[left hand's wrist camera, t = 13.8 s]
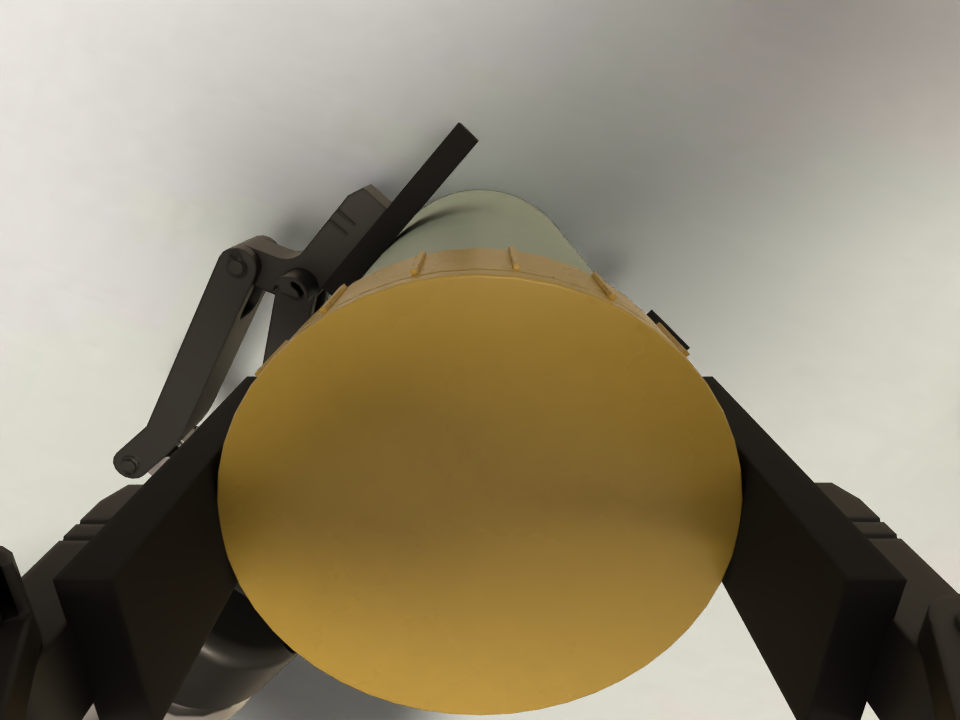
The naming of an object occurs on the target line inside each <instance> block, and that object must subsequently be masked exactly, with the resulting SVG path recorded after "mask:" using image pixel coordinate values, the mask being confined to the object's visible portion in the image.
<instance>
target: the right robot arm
mask: <svg viewBox="0 0 960 720" xmlns="http://www.w3.org/2000/svg"><path fill="white" fill-rule="evenodd" d="M477 142H478V139H476V138H475V137H474V136H473V135H472V134H471V133H470V132H469V131H468V130H467V129H466V128H465V127H464V126H463V125H462V124H461V123H458V124H457V125H456V126H455V128H454V129H453V130H452V131H451V132H450V134H449V135H448V136H447V137H446V138H445V140H444V141H443V142H442V143H441V144H440V146H439V147H438V148H437V149H436V150H435V152H434V153H433V154H432V155H431V156H430V158H429V159H428V160H427V161H426V162H425V164H424V165H423V166H422V167H421V168H420V170H419V171H418V172H417V173H416V174H415V176H414V177H413V178H412V179H411V180H410V182H409V183H408V184H407V185H406V186H405V188H404V189H403V190H402V191H401V192H400V194H399V195H398V196H397V197H396V198H395V200H394V201H393V202H390V201H389V200H388V199H387V198H386V197H385V196H384V195H383V194H382V193H380V192H379V191H378V190H377V189H376V188H375V187H374V186H373V185H372V184H370V185H368V186H366V187H364V188H362V189H360V190H358V191H356V192H354V193H352V194H350V195H348V196H347V198H346V199H345V200H344V201H343V202H342V204H341V205H340V206H339V207H338V209H337V210H336V211H335V212H334V214H333V215H332V216H331V217H330V219H329V220H328V221H327V222H326V224H325V225H324V226H323V227H322V229H321V230H320V231H319V232H318V234H317V235H316V236H315V237H314V239H313V240H312V241H311V242H310V244H309V245H308V246H307V247H306V248H305V250H303V251H294V250H290V249H287V248H285V247H282V246H280V245H277V243H276V242H275V241H274V240H273V239H271V238H270V237H267V236H264V235H263V236H256V237H253V238H251V239H249V240H246V241H244V242H242V243H240V244H238V245H235V246H233V247H232V248H229V249H227V250H225V251H224V252H223V253H222V254H221V255H220V257H219V259H218V261H217V263H216V266H215V268H214V270H213V273H212V275H211V277H210V280H209V282H208V284H207V287H206V289H205V291H204V294H203V296H202V298H201V301H200V303H199V305H198V308H197V310H196V312H195V315H194V317H193V319H192V322H191V324H190V326H189V329H188V331H187V333H186V336H185V338H184V340H183V343H182V345H181V347H180V350H179V352H178V354H177V357H176V359H175V361H174V364H173V366H172V368H171V371H170V373H169V375H168V378H167V380H166V382H165V385H164V387H163V389H162V392H161V394H160V396H159V399H158V401H157V403H156V406H155V408H154V410H153V413H152V415H151V417H150V420H149V422H148V424H147V426H146V427H145V428H144V429H143V430H142V431H141V432H140V433H139V434H137V435H136V436H135V437H134V438H133V439H132V440H131V441H130V442H128V443H127V444H126V445H125V446H124V447H123V448H122V449H121V450H119V451H118V452H117V453H116V455H115V456H114V459H113V464H114V466H115V469H116V470H117V471H118V472H119V473H120V474H121V475H123V476H125V477H128V478H132V479H134V478H140V477H142V476H143V475H145V474H146V473H147V472H148V473H150V474H151V475H153V474H154V473H155V472H156V471H157V470H158V469H159V468H160V467H161V466H162V465H163V464H164V463H165V462H166V461H167V460H168V459H169V458H170V457H171V455H172V454H173V453H174V452H175V451H176V450H177V449H178V448H179V447H180V446H181V445H182V444H183V443H184V442H185V441H186V440H187V439H188V438H189V437H190V436H191V435H192V434H193V433H194V431H195V430H196V429H197V428H198V426H196V425H197V424H198V423H199V422H200V421H201V420H202V419H203V418H204V416H205V415H206V414H207V412H208V411H209V409H210V408H211V406H212V404H213V402H214V400H215V398H216V396H217V394H218V392H219V389H220V387H221V385H222V383H223V381H224V379H225V377H226V374H227V372H228V370H229V368H230V366H231V364H232V362H233V359H234V357H235V355H236V353H237V351H238V349H239V347H240V344H241V342H242V340H243V338H244V336H245V334H246V332H247V329H248V327H249V325H250V323H251V321H252V319H253V317H254V314H255V312H256V310H257V308H258V306H259V304H260V302H261V299H262V297H263V295H264V293H265V291H267V292H270V293H272V294H275V298H274V304H273V310H272V315H271V321H270V326H269V332H268V338H267V343H266V349H265V355H264V360H263V364H264V363H265V362H266V361H267V360H268V359H269V358H270V357H271V355H272V354H273V353H274V352H275V351H276V350H277V349H278V348H279V347H280V346H281V345H282V344H283V343H284V342H285V341H286V340H288V341H289V340H290V339H291V338H292V336H293V335H294V334H295V333H296V332H297V331H298V330H299V329H300V328H301V327H302V326H303V325H304V324H305V322H306V321H307V320H308V319H309V318H310V317H311V316H313V315H314V314H315V313H316V312H317V311H318V310H319V309H320V308H321V307H322V306H323V305H324V304H325V303H326V301H327V300H328V295H329V294H330V295H333V294H334V293H335V292H336V291H337V289H338V288H339V287H340V286H342V285H343V284H345V285H346V286H347V287H348V286H350V285H351V284H352V283H354V282H355V281H357V280H359V279H361V278H362V277H363V276H364V275H365V273H366V272H367V271H368V270H369V269H370V268H371V266H372V265H373V264H374V263H375V262H376V261H377V259H378V258H379V257H380V256H381V255H382V253H383V252H384V251H385V250H386V249H387V248H388V246H389V245H390V244H391V243H392V242H393V241H394V239H395V238H396V237H397V236H398V235H399V234H400V232H401V231H402V230H403V229H404V228H405V227H406V225H407V224H408V223H409V222H410V221H411V220H412V218H413V217H414V216H415V215H416V214H417V213H418V211H419V210H420V209H421V208H422V207H423V205H424V204H425V203H426V202H427V201H428V200H429V198H430V197H431V196H432V195H433V194H434V193H435V191H436V190H437V189H438V188H439V187H440V186H441V184H442V183H443V182H444V181H445V180H446V179H447V177H448V176H449V175H450V174H451V173H452V172H453V170H454V169H455V168H456V167H457V166H458V165H459V163H460V162H461V161H462V160H463V159H464V158H465V156H466V155H467V154H468V153H469V152H470V150H471V149H472V148H473V147H474V146H475V145H476V143H477ZM647 316H648V317H649V318H650V319H651V320H652V321H653V322H654V323H655V324H657V323H659V322H660V323H661V324H662V325H663V326H664V327H665V328H666V329H667V330H668V332H669V333H670V334H671V335H672V336H673V337H674V338H675V339H676V340H677V341H678V342H679V343H680V344H681V345H682V346H683V347H684V348H685V349H686V350H688V349H689V348H690V347H689V346H688V345H687V344H686V343H685V342H684V341H683V340H682V339H681V338H680V337H679V336H678V335H677V334H676V333H675V332H674V331H673V330H672V329H671V328H670V327H669V326H668V325H667V324H666V323H665V322H664V321H663V320H662V319H661V318H660V317H659V316H658V315H657V314H656V313H655V312H654V311H653V310H651V311H650V312H649V313H648V314H647ZM297 654H298V653H296V652H295V651H294V650H293V649H292V648H290V647H289V646H288V645H287V644H286V643H285V642H284V641H283V640H282V639H281V638H280V637H279V636H278V635H277V634H276V633H275V632H274V631H273V630H272V629H271V628H270V627H269V626H268V624H267V623H266V622H265V621H264V619H263V618H262V617H261V616H260V615H259V613H258V612H257V611H256V610H255V608H254V607H253V605H252V604H251V602H250V600H249V599H248V597H247V596H246V594H245V592H244V591H243V589H242V588H241V586H240V584H239V582H237V584H236V586H235V588H234V590H233V591H232V593H231V595H230V597H229V599H228V601H227V603H226V604H225V606H224V608H223V610H222V612H221V614H220V615H219V617H218V619H217V621H216V623H215V625H214V627H213V628H212V630H211V632H210V634H209V636H208V638H207V640H206V641H205V643H204V645H203V647H202V649H201V651H200V652H199V654H198V656H197V658H196V660H195V662H194V664H193V665H192V667H191V669H190V671H189V673H188V675H187V677H186V678H185V680H184V682H183V684H182V686H181V688H180V690H179V691H178V693H177V695H176V697H175V699H174V701H173V702H172V704H171V706H170V708H169V710H168V712H167V714H166V715H165V717H164V719H163V720H228V719H229V718H230V717H232V716H233V715H234V714H235V713H236V712H237V711H238V710H240V709H241V708H242V707H243V706H244V705H245V703H246V702H247V701H248V700H249V699H250V698H251V697H252V695H254V694H255V693H257V692H258V691H259V690H260V689H261V688H262V687H263V686H264V685H265V684H266V683H267V682H268V681H270V680H271V679H272V678H273V677H274V676H275V675H276V674H277V673H278V672H279V671H280V670H281V669H282V668H284V667H285V666H286V665H287V664H288V663H289V662H290V661H291V660H292V659H293V658H294V657H295V656H296V655H297ZM82 720H99V718H98V715H97V712H96V709H95V706H94V703H93V705H92V706H91V708H90V709H89V710H88V712H87V713H86V715H85V716H84V718H83V719H82Z"/></svg>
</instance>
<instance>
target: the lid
mask: <svg viewBox="0 0 960 720" xmlns="http://www.w3.org/2000/svg"><path fill="white" fill-rule="evenodd" d="M688 355H689V353H688V352H687V350H686V349H685V348H684V347H683V346H682V345H681V344H680V343H679V342H678V341H677V340H676V339H675V338H674V337H673V336H672V335H671V334H670V333H669V332H668V330H667V329H666V328H665V327H664V326H663V325H662V324H661V323H660V322H659V323H657V324H655V323H654V322H653V321H652V320H651V319H650V318H649V317H648V316H647V315H646V314H645V313H644V312H643V311H642V310H641V309H639V308H638V307H637V306H636V305H635V304H634V303H633V302H632V301H631V300H630V299H629V298H627V297H626V296H624V295H623V294H621V293H620V292H619V291H617V290H616V289H614V288H613V287H611V286H610V285H608V284H607V283H606V282H605V281H604V280H603V279H602V278H601V276H600V275H599V274H598V273H596V272H593V274H592V275H590V274H588V273H586V272H584V271H582V270H580V269H578V268H576V267H574V266H571V265H568V264H565V263H562V262H559V261H556V260H553V259H550V258H547V257H544V256H540V255H535V254H530V253H525V252H519V251H516V249H515V247H512V246H509V250H505V249H488V248H470V249H456V250H444V251H439V252H435V253H430V254H426V253H425V251H420V252H419V253H418V255H417V256H415V257H411V258H409V259H406V260H403V261H400V262H397V263H394V264H391V265H389V266H386V267H383V268H381V269H379V270H377V271H375V272H373V273H371V274H369V275H367V276H365V277H363V278H361V279H359V280H357V281H355V282H354V283H352V284H351V285H350V286H348V287H347V286H346V285H345V284H343V285H342V286H340V287H339V288H338V289H337V291H336V292H335V293H334V294H333V295H332V296H331V297H330V298H329V299H328V300H327V301H326V303H325V304H324V305H323V306H322V307H321V308H320V309H319V310H318V311H317V312H316V313H315V314H314V315H313V316H311V317H310V318H309V319H308V320H307V321H306V322H305V324H304V325H303V326H302V327H301V328H300V329H299V330H298V331H297V332H296V333H295V334H294V335H293V336H292V338H291V339H290V340H289V341H288V340H286V341H285V342H284V343H283V344H282V345H281V346H280V347H279V348H278V349H277V350H276V351H275V352H274V353H273V354H272V355H271V357H270V358H269V359H268V360H267V361H266V362H265V363H264V364H263V365H262V366H261V367H260V368H259V369H258V370H257V372H256V373H255V375H256V376H258V377H257V378H256V379H255V381H254V382H253V383H252V384H251V386H250V388H249V389H248V391H247V393H246V395H245V396H244V398H243V400H242V402H241V404H240V405H239V407H238V409H237V411H236V412H235V414H234V417H233V420H232V422H231V425H230V428H229V430H228V433H227V436H226V439H225V441H224V445H223V450H222V455H221V460H220V465H219V470H218V487H217V507H218V514H219V520H220V526H221V531H222V536H223V541H224V545H225V549H226V553H227V557H228V560H229V562H230V564H231V566H232V569H233V571H234V573H235V575H236V578H237V580H238V582H239V584H240V586H241V588H242V589H243V591H244V592H245V594H246V596H247V597H248V599H249V600H250V602H251V604H252V605H253V607H254V608H255V610H256V611H257V612H258V613H259V615H260V616H261V617H262V618H263V619H264V621H265V622H266V623H267V624H268V626H269V627H270V628H271V629H272V630H273V631H274V632H275V633H276V634H277V635H278V636H279V637H280V638H281V639H282V640H283V641H284V642H285V643H286V644H287V645H288V646H289V647H290V648H292V649H293V650H294V651H295V652H296V653H298V654H299V655H300V656H302V657H303V658H304V659H306V660H307V661H308V662H310V663H311V664H312V665H314V666H315V667H316V668H318V669H320V670H322V671H323V672H325V673H327V674H328V675H330V676H332V677H333V678H335V679H337V680H339V681H340V682H342V683H344V684H347V685H349V686H351V687H353V688H355V689H358V690H360V691H362V692H364V693H366V694H369V695H372V696H375V697H378V698H381V699H384V700H387V701H389V702H392V703H396V704H400V705H404V706H408V707H413V708H417V709H421V710H427V711H435V712H442V713H449V714H467V715H493V714H511V713H518V712H525V711H532V710H539V709H543V708H547V707H551V706H555V705H559V704H563V703H567V702H570V701H573V700H576V699H579V698H582V697H585V696H587V695H590V694H593V693H596V692H598V691H600V690H602V689H604V688H606V687H608V686H611V685H613V684H615V683H617V682H619V681H621V680H623V679H625V678H626V677H628V676H629V675H631V674H633V673H634V672H636V671H638V670H639V669H641V668H643V667H644V666H646V665H647V664H649V663H650V662H651V661H652V660H654V659H655V658H656V657H658V656H659V655H660V654H662V653H663V652H664V651H665V650H667V649H668V648H669V647H670V646H671V645H672V644H673V643H674V642H675V641H676V640H677V639H678V638H679V637H680V636H682V635H683V634H684V633H685V632H686V631H687V630H688V629H689V628H690V626H691V625H692V624H693V623H694V621H695V620H696V619H697V618H698V616H699V615H700V614H701V613H702V611H703V610H704V609H705V608H706V606H707V605H708V603H709V601H710V600H711V598H712V596H713V595H714V593H715V591H716V590H717V588H718V587H719V585H720V583H721V581H722V579H723V577H724V574H725V572H726V570H727V567H728V565H729V563H730V560H731V558H732V555H733V551H734V548H735V543H736V538H737V534H738V529H739V523H740V517H741V510H742V501H743V498H742V478H741V467H740V462H739V458H738V453H737V448H736V444H735V440H734V437H733V434H732V432H731V429H730V427H729V424H728V422H727V419H726V416H725V414H724V411H723V409H722V408H721V406H720V404H719V403H718V401H717V399H716V398H715V396H714V394H713V392H712V391H711V389H710V387H709V386H708V384H707V382H706V381H705V380H704V379H703V377H702V376H701V375H700V374H699V373H698V371H697V370H696V369H695V368H694V366H693V365H692V364H691V363H690V361H689V360H688V359H687V358H686V357H687V356H688Z"/></svg>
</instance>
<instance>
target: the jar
mask: <svg viewBox="0 0 960 720" xmlns="http://www.w3.org/2000/svg"><path fill="white" fill-rule="evenodd" d="M509 246H512V247H515V249H516V251H519V252H525V253H530V254H535V255H540V256H544V257H547V258H550V259H553V260H556V261H559V262H562V263H565V264H568V265H571V266H574V267H576V268H578V269H580V270H582V271H584V272H586V273H588V274H590V275H592V274H593V272H592V270H591V269H590V268H589V267H588V265H587V264H586V263H585V262H584V261H583V259H582V258H581V257H580V256H579V254H578V253H577V252H576V251H575V250H574V248H573V247H572V246H571V245H570V243H569V242H568V241H567V240H566V239H565V237H564V236H563V235H562V234H561V232H560V231H559V230H558V229H557V228H556V226H555V225H554V224H553V223H552V222H551V221H550V220H549V219H548V218H547V217H546V216H545V215H544V214H543V213H542V212H541V211H539V210H538V209H537V208H535V207H534V206H533V205H531V204H529V203H527V202H526V201H524V200H522V199H520V198H517V197H515V196H512V195H510V194H506V193H502V192H498V191H489V190H469V191H463V192H458V193H454V194H451V195H448V196H445V197H442V198H440V199H438V200H436V201H434V202H432V203H431V204H429V205H428V206H426V207H424V208H423V209H421V210H420V211H419V212H418V213H417V214H416V215H415V216H414V217H413V218H412V220H411V221H410V222H409V223H408V224H407V225H406V227H405V228H404V229H403V230H402V231H401V232H400V234H399V235H398V236H397V237H396V238H395V239H394V241H393V242H392V243H391V244H390V245H389V246H388V248H387V249H386V250H385V251H384V252H383V253H382V255H381V256H380V257H379V258H378V259H377V261H376V262H375V263H374V264H373V265H372V266H371V268H370V269H369V270H368V271H367V273H366V274H365V275H364V276H363V277H365V276H367V275H369V274H371V273H373V272H375V271H377V270H379V269H381V268H383V267H386V266H389V265H391V264H394V263H397V262H400V261H403V260H406V259H409V258H411V257H415V256H417V255H418V253H419V252H420V251H425V253H426V254H430V253H435V252H439V251H444V250H456V249H470V248H488V249H505V250H509ZM363 277H362V278H363Z"/></svg>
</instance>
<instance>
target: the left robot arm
mask: <svg viewBox="0 0 960 720" xmlns="http://www.w3.org/2000/svg"><path fill="white" fill-rule="evenodd" d="M256 378H257V377H246V378H245V379H244V380H243V381H242V382H241V383H240V385H239V386H238V387H237V388H236V389H235V390H234V391H233V392H232V393H231V394H230V395H229V396H228V397H227V398H226V399H225V400H224V401H223V402H222V403H221V404H220V405H219V406H218V407H217V409H216V410H215V411H214V412H213V413H212V414H211V415H210V416H209V417H208V418H207V419H206V420H205V421H204V422H203V423H202V424H201V425H200V426H199V427H198V428H197V429H196V430H195V431H194V433H193V434H192V435H191V436H190V437H189V438H188V439H187V440H186V441H185V442H184V443H183V444H182V445H181V446H180V447H179V448H178V449H177V450H176V451H175V452H174V453H173V454H172V455H171V457H170V458H169V459H168V460H167V461H166V462H165V463H164V464H163V465H162V466H161V467H160V468H159V469H158V470H157V471H156V472H155V473H154V474H153V475H152V476H151V477H150V478H149V479H148V481H147V482H146V483H145V484H144V485H127V486H125V487H124V488H122V489H120V490H119V491H117V492H115V493H113V494H112V495H110V496H108V497H107V498H105V499H103V500H101V501H100V502H99V503H98V504H97V505H96V506H95V507H94V508H93V509H92V510H91V511H90V512H89V513H87V514H86V515H85V516H84V517H83V518H82V519H81V520H80V524H76V525H75V526H74V527H73V528H72V529H71V530H70V531H69V532H68V533H67V534H66V535H65V536H64V539H63V541H59V542H58V543H56V544H55V545H54V546H53V547H52V548H51V549H50V550H49V551H48V552H47V553H46V554H45V555H44V556H43V557H42V558H41V559H40V560H39V561H38V562H37V563H36V564H35V565H34V566H33V567H32V568H31V569H30V570H29V571H28V572H27V573H25V574H24V575H23V576H22V577H21V576H20V573H19V570H18V567H17V564H16V562H15V559H14V556H13V553H12V552H11V551H9V550H8V549H6V548H4V547H3V546H0V720H82V719H83V718H84V716H85V715H86V713H87V712H88V710H89V709H90V708H91V706H92V705H93V703H94V706H95V709H96V712H97V715H98V718H99V720H163V719H164V717H165V715H166V714H167V712H168V710H169V708H170V706H171V704H172V702H173V701H174V699H175V697H176V695H177V693H178V691H179V690H180V688H181V686H182V684H183V682H184V680H185V678H186V677H187V675H188V673H189V671H190V669H191V667H192V665H193V664H194V662H195V660H196V658H197V656H198V654H199V652H200V651H201V649H202V647H203V645H204V643H205V641H206V640H207V638H208V636H209V634H210V632H211V630H212V628H213V627H214V625H215V623H216V621H217V619H218V617H219V615H220V614H221V612H222V610H223V608H224V606H225V604H226V603H227V601H228V599H229V597H230V595H231V593H232V591H233V590H234V588H235V586H236V584H237V582H238V580H237V578H236V575H235V573H234V571H233V569H232V566H231V564H230V562H229V560H228V557H227V553H226V549H225V545H224V541H223V536H222V531H221V526H220V520H219V514H218V507H217V487H218V470H219V465H220V460H221V455H222V450H223V445H224V441H225V439H226V436H227V433H228V430H229V428H230V425H231V422H232V420H233V417H234V414H235V412H236V411H237V409H238V407H239V405H240V404H241V402H242V400H243V398H244V396H245V395H246V393H247V391H248V389H249V388H250V386H251V384H252V383H253V382H254V381H255V379H256ZM703 379H704V380H705V381H706V382H707V384H708V386H709V387H710V389H711V391H712V392H713V394H714V396H715V398H716V399H717V401H718V403H719V404H720V406H721V408H722V409H723V411H724V414H725V416H726V419H727V422H728V424H729V427H730V429H731V432H732V434H733V437H734V440H735V444H736V448H737V453H738V458H739V462H740V467H741V478H742V498H743V501H742V510H741V517H740V523H739V529H738V534H737V538H736V543H735V548H734V551H733V555H732V558H731V560H730V563H729V565H728V567H727V570H726V572H725V574H724V577H723V579H722V583H723V585H724V587H725V588H726V590H727V592H728V594H729V596H730V598H731V599H732V601H733V603H734V605H735V607H736V609H737V611H738V612H739V614H740V616H741V618H742V620H743V622H744V624H745V625H746V627H747V629H748V631H749V633H750V635H751V636H752V638H753V640H754V642H755V644H756V646H757V648H758V649H759V651H760V653H761V655H762V657H763V659H764V661H765V662H766V664H767V666H768V668H769V670H770V672H771V674H772V675H773V677H774V679H775V681H776V683H777V685H778V686H779V688H780V690H781V692H782V694H783V696H784V698H785V699H786V701H787V703H788V705H789V707H790V709H791V711H792V712H793V714H794V716H795V718H796V720H861V717H862V714H863V711H864V708H865V705H866V702H868V703H869V705H870V706H871V708H872V709H873V711H874V712H875V714H876V715H877V717H878V718H879V720H960V594H958V593H957V592H956V591H955V590H954V589H953V588H952V587H951V586H950V585H949V584H948V583H947V582H946V581H945V580H944V579H942V578H941V577H940V576H939V575H938V574H937V573H936V572H935V571H934V570H933V569H932V568H931V567H930V566H929V565H928V564H927V563H926V562H925V561H924V560H923V559H922V558H921V557H920V556H919V555H917V554H916V553H915V552H914V551H913V550H912V549H911V548H910V547H909V546H908V545H907V544H906V543H905V542H904V541H903V540H902V539H897V534H896V533H895V532H894V531H893V530H891V529H890V528H889V527H888V526H887V525H886V524H885V523H884V522H880V518H879V517H878V516H877V515H876V514H875V513H874V512H873V511H872V510H871V509H870V508H869V507H868V506H867V505H865V504H864V503H863V502H862V501H861V500H860V499H859V498H857V497H855V496H854V495H852V494H850V493H848V492H847V491H845V490H843V489H842V488H840V487H838V486H836V485H835V484H833V483H814V482H813V481H812V480H811V479H810V478H809V477H808V476H807V475H806V474H805V473H804V472H803V470H802V469H801V468H800V467H799V466H798V465H797V464H796V463H795V462H794V461H793V460H792V459H791V458H790V457H789V456H788V455H787V454H786V453H785V452H784V451H783V450H782V449H781V448H780V446H779V445H778V444H777V443H776V442H775V441H774V440H773V439H772V438H771V437H770V436H769V435H768V434H767V433H766V432H765V431H764V430H763V429H762V428H761V427H760V426H759V425H758V424H757V422H756V421H755V420H754V419H753V418H752V417H751V416H750V415H749V414H748V413H747V412H746V411H745V410H744V409H743V408H742V407H741V406H740V405H739V404H738V403H737V402H736V401H735V400H734V398H733V397H732V396H731V395H730V394H729V393H728V392H727V391H726V390H725V389H724V388H723V387H722V386H721V385H720V384H719V383H718V382H717V381H716V380H715V379H714V378H713V377H703Z"/></svg>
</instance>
